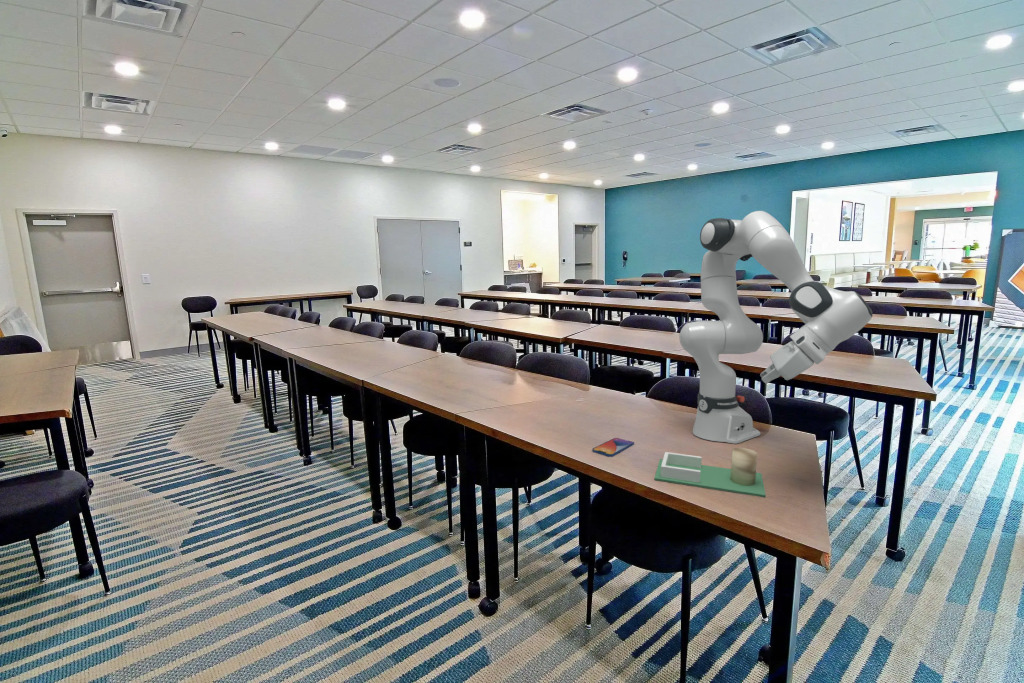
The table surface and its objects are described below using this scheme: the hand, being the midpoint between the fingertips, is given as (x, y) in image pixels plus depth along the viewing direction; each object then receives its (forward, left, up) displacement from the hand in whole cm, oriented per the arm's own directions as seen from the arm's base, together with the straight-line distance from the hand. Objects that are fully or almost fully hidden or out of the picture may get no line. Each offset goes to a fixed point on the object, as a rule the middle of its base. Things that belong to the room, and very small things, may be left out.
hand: (762, 379), depth 131 cm
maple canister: (+6, +2, -27) cm, 28 cm away
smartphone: (+24, -34, -28) cm, 50 cm away
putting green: (+12, -4, -27) cm, 30 cm away
